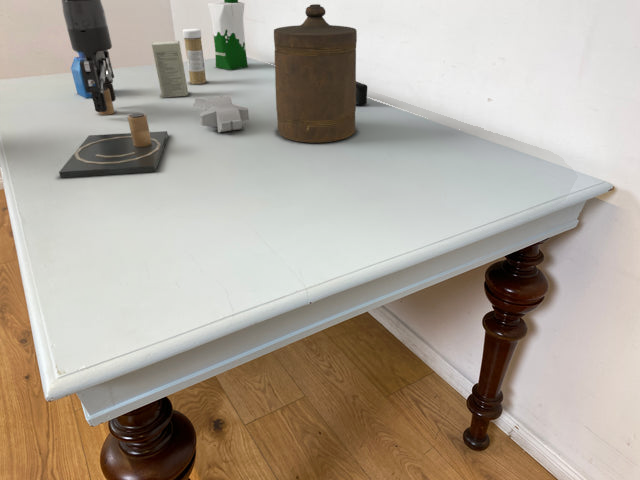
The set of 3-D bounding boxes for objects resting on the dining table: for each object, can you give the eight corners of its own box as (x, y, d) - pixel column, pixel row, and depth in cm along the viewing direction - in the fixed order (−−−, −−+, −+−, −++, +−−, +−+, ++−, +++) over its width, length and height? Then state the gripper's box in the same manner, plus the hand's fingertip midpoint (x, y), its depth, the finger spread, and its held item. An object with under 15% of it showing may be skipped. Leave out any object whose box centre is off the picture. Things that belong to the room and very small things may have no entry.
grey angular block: (205, 116, 87) (187, 89, 98) (208, 142, 90) (190, 114, 101) (255, 110, 91) (232, 85, 101) (256, 135, 94) (233, 108, 104)
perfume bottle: (77, 93, 120) (64, 42, 114) (102, 89, 124) (90, 40, 118) (86, 98, 116) (73, 45, 110) (111, 94, 120) (100, 42, 114)
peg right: (132, 147, 82) (125, 117, 79) (135, 141, 85) (129, 112, 82) (150, 146, 82) (144, 116, 80) (152, 140, 85) (147, 111, 82)
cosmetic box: (188, 92, 121) (180, 40, 115) (187, 96, 117) (180, 42, 111) (161, 93, 120) (152, 41, 113) (160, 98, 116) (151, 43, 110)
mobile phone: (370, 83, 107) (328, 71, 117) (359, 85, 105) (319, 72, 115) (368, 105, 109) (328, 91, 119) (358, 107, 108) (318, 93, 118)
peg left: (98, 115, 103) (92, 90, 101) (101, 111, 106) (95, 87, 103) (112, 114, 104) (107, 90, 101) (115, 110, 106) (110, 87, 104)
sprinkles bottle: (194, 80, 132) (187, 27, 126) (209, 81, 132) (203, 28, 125) (186, 84, 129) (179, 30, 122) (202, 85, 128) (195, 30, 121)
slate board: (60, 178, 73) (58, 171, 73) (90, 140, 89) (88, 134, 88) (155, 171, 75) (153, 165, 74) (168, 136, 90) (167, 130, 90)
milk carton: (252, 66, 150) (246, -6, 140) (229, 71, 144) (222, -4, 134) (233, 63, 155) (227, -7, 145) (211, 67, 149) (202, -5, 139)
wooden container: (328, 116, 101) (328, 0, 90) (370, 135, 90) (376, 5, 79) (264, 127, 95) (256, 3, 84) (301, 149, 84) (297, 9, 73)
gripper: (77, 21, 101) (96, 99, 109) (56, 29, 89) (79, 116, 97) (114, 20, 102) (130, 97, 110) (98, 28, 90) (117, 114, 98)
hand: (106, 106), depth 104 cm, fingers open, 8 cm apart
